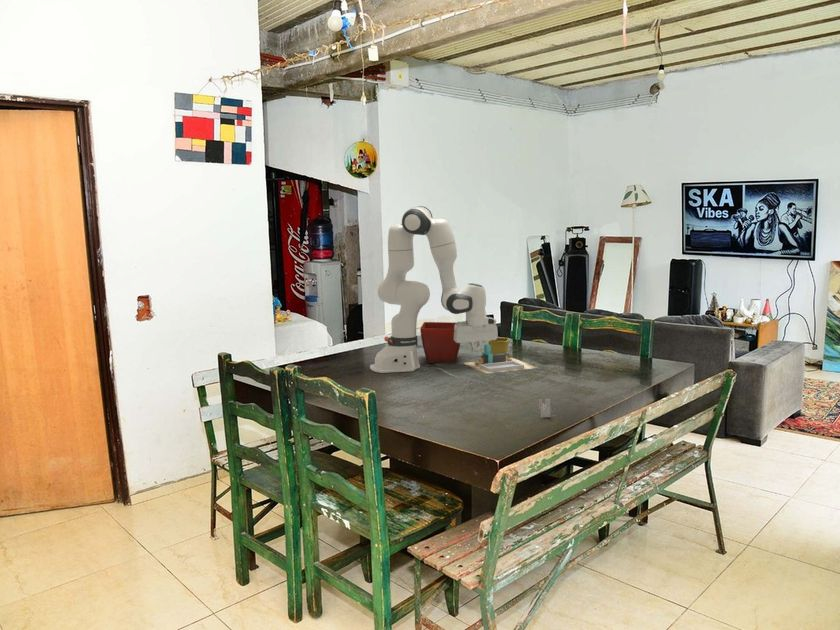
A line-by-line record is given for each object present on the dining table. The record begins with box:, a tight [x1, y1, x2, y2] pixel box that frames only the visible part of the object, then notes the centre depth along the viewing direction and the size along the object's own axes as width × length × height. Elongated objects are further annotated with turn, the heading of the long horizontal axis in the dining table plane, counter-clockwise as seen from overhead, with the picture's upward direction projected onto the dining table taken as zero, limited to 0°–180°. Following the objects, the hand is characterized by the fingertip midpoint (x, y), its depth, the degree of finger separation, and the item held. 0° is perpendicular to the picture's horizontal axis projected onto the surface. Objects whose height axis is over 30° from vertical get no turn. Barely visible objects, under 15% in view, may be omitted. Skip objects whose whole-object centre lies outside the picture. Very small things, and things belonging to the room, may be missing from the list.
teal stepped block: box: [481, 343, 493, 364], centre depth 300 cm, size 2×6×8 cm, turn 22°
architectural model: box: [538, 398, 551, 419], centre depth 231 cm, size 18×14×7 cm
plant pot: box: [419, 321, 461, 364], centre depth 313 cm, size 19×19×17 cm
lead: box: [478, 353, 508, 364], centre depth 301 cm, size 13×3×4 cm, turn 112°
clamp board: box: [462, 357, 538, 374], centre depth 298 cm, size 26×22×3 cm
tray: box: [480, 361, 525, 373], centre depth 293 cm, size 17×9×2 cm, turn 112°
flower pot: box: [488, 336, 510, 355], centre depth 319 cm, size 9×9×9 cm
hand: (475, 351), depth 297 cm, fingers closed
